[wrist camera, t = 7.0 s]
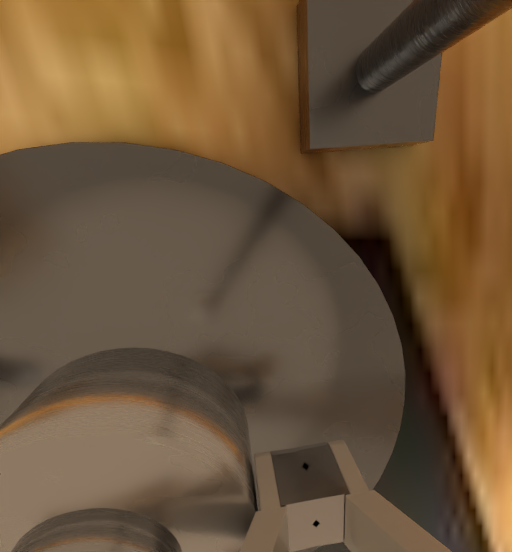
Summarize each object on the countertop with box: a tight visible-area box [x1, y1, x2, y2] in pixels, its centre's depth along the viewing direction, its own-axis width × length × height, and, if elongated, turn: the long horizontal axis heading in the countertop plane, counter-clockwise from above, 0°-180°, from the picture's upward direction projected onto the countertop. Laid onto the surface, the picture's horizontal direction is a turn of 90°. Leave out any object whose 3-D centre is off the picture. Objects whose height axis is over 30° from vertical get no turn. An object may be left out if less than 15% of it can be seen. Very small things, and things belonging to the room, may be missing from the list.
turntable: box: [0, 142, 405, 552], centre depth 8 cm, size 23×20×6 cm
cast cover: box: [0, 348, 258, 552], centre depth 8 cm, size 8×8×5 cm
